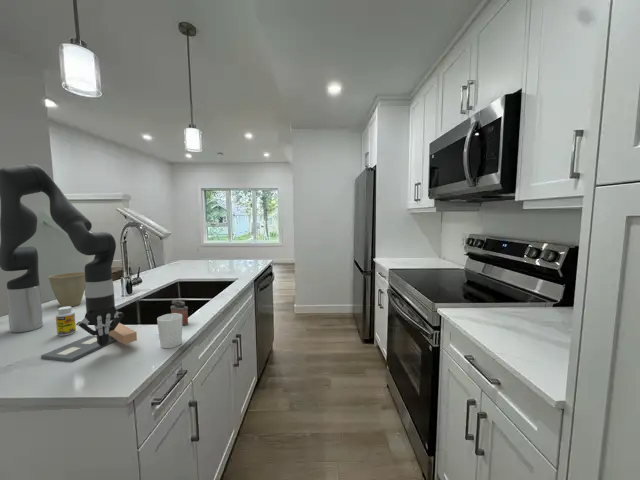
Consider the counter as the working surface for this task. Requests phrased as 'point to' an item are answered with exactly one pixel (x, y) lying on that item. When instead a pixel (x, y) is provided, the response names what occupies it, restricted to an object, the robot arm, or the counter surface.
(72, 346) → the gray base panel
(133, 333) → the swing bar
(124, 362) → the counter surface
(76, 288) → the plant pot
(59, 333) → the supplement bottle
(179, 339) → the white cup
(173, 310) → the lighter
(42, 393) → the counter surface
